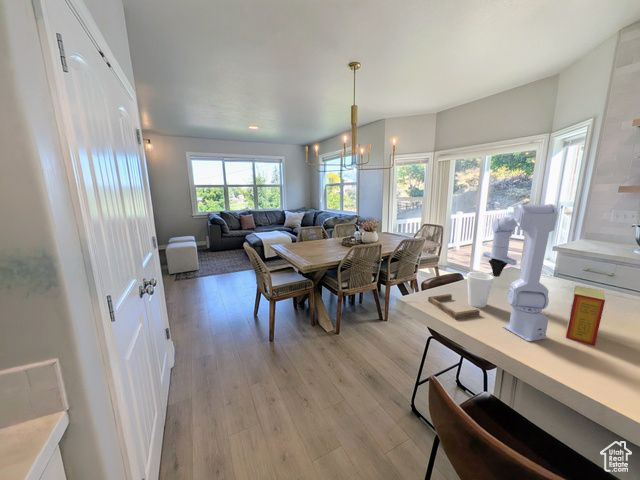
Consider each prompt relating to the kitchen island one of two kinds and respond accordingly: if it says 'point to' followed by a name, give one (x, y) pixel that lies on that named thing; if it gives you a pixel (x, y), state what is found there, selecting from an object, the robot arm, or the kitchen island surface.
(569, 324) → the baking soda box
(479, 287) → the foam cup
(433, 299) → the walnut corral
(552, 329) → the kitchen island surface
